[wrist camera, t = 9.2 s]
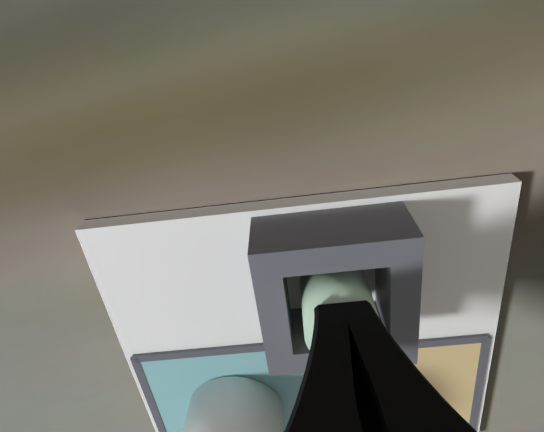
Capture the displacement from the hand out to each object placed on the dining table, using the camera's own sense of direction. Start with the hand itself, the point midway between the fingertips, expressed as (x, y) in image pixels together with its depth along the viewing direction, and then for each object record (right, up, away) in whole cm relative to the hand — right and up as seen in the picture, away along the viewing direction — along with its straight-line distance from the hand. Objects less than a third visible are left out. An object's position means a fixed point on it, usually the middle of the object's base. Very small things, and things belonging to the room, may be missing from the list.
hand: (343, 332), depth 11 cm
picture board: (-1, -2, +5) cm, 5 cm away
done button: (0, +1, +2) cm, 2 cm away
